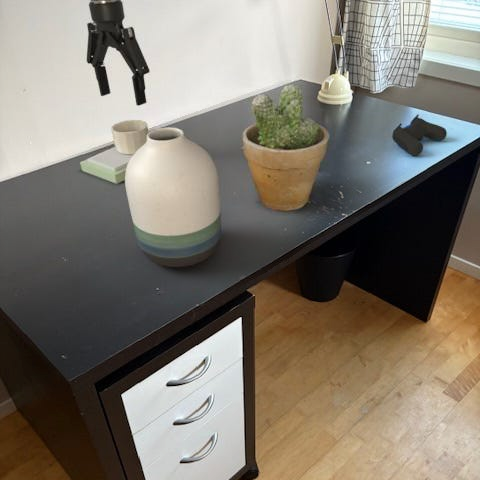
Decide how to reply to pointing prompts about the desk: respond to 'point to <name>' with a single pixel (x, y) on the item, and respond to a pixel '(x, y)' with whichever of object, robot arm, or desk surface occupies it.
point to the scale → (108, 165)
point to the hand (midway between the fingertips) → (123, 99)
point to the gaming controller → (417, 135)
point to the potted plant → (283, 150)
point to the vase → (174, 199)
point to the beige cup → (129, 135)
